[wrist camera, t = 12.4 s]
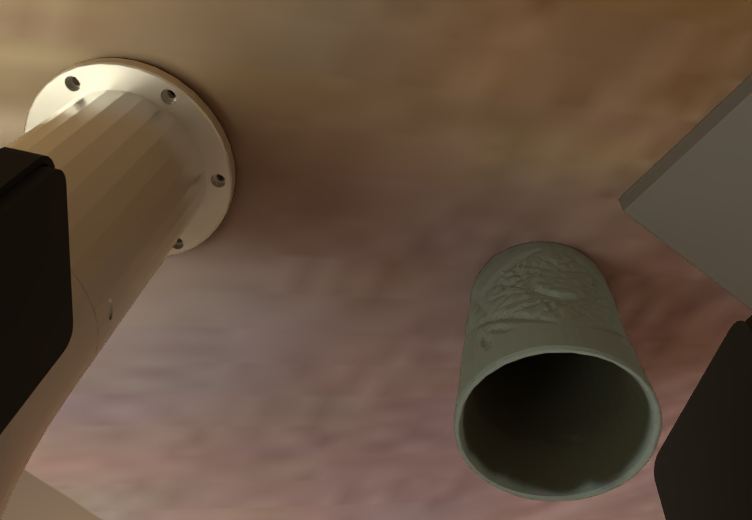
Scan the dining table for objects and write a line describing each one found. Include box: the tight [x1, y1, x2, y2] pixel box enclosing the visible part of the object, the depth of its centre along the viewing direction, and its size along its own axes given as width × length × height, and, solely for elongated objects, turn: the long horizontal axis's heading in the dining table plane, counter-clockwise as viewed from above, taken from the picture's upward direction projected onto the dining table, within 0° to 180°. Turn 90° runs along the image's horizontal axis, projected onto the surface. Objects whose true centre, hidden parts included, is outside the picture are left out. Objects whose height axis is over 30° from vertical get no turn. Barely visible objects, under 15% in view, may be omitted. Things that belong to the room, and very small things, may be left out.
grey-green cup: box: [454, 242, 662, 501], centre depth 40 cm, size 10×10×12 cm
